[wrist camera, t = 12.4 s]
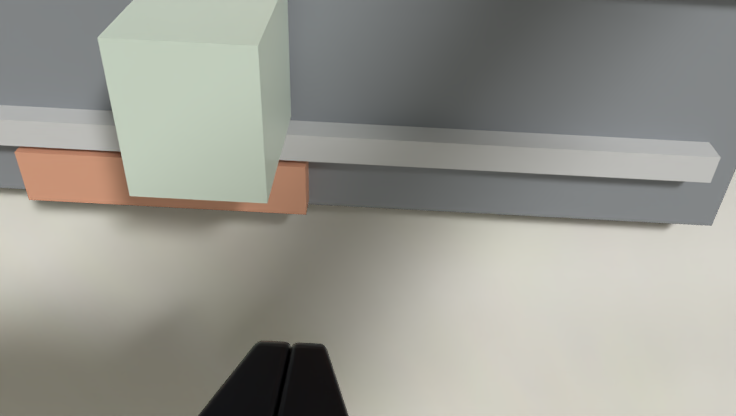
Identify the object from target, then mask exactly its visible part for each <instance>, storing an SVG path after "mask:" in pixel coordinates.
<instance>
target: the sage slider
mask: <svg viewBox="0 0 736 416" xmlns="http://www.w3.org/2000/svg"><path fill="white" fill-rule="evenodd" d="M97 38H98V43H99V48H100V53H101V58H102V63H103V68H104V73H105V78H106V83H107V87H108V92H109V97H110V102H111V107H112V112H113V117H114V122H115V127H116V131H117V136H118V141H119V146H120V151H121V156H122V161H123V166H124V171H125V176H126V180H127V185H128V190H129V195H130V196H137V197H155V198H174V199H193V200H211V201H230V202H249V203H268V199H269V195H270V192H271V188H272V184H273V181H274V177H275V173H276V170H277V166H278V162H279V159H280V155H281V151H282V148H283V144H284V140H285V137H286V133H287V129H288V126H289V122H290V118H291V96H290V63H289V31H288V0H133V1H132V2H131V3H130V4H129V5H128V6H127V7H126V8H125V9H124V10H123V11H122V12H121V13H120V14H119V15H118V16H117V18H116V19H115V20H114V21H113V22H112V23H111V24H110V25H109V26H108V27H107V28H106V29H105V30H104V31H103V32H102V33H101V34H100V35H99V36H98V37H97Z"/></svg>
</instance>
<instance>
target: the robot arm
mask: <svg viewBox="0 0 736 416" xmlns="http://www.w3.org/2000/svg"><path fill="white" fill-rule="evenodd" d="M198 416H348V413H347V409H346V406H345V403H344V400H343V397H342V394H341V391H340V388H339V385H338V382H337V379H336V376H335V373H334V370H333V366H332V363H331V360H330V357H329V354H328V351H327V349H326V347H325V346H324V345H323V344H315V343H295V344H293V346H292V347H291V345H290V344H289V343H287V342H278V341H260V342H258V343H256V344H255V345H254V346H253V347H252V349H251V350H250V351H249V352H248V354H247V355H246V356H245V357H244V359H243V360H242V361H241V363H240V364H239V365H238V366H237V368H236V369H235V370H234V371H233V373H232V374H231V375H230V376H229V378H228V379H227V380H226V381H225V383H224V384H223V385H222V386H221V388H220V389H219V390H218V391H217V393H216V394H215V395H214V396H213V398H212V399H211V400H210V401H209V403H208V404H207V405H206V406H205V408H204V409H203V410H202V412H201V413H200V414H199V415H198Z"/></svg>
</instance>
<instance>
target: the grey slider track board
mask: <svg viewBox="0 0 736 416" xmlns="http://www.w3.org/2000/svg"><path fill="white" fill-rule="evenodd" d="M132 1H133V0H0V188H17V189H26V191H27V194H28V198H29V200H43V201H62V202H80V203H99V204H118V205H137V206H155V207H174V208H193V209H211V210H230V211H249V212H267V213H286V214H305V215H306V212H307V207H308V204H317V205H335V206H354V207H373V208H392V209H410V210H429V211H448V212H466V213H485V214H504V215H523V216H541V217H560V218H579V219H597V220H616V221H635V222H654V223H672V224H691V225H710V226H712V223H713V221H714V219H715V216H716V214H717V212H718V209H719V207H720V205H721V202H722V200H723V198H724V195H725V193H726V190H727V188H728V186H729V183H730V181H731V179H732V176H733V174H734V172H735V169H736V0H288V31H289V63H290V96H291V118H290V122H289V126H288V129H287V133H286V137H285V140H284V144H283V148H282V151H281V155H280V159H279V162H278V166H277V170H276V173H275V177H274V181H273V184H272V188H271V192H270V195H269V199H268V203H249V202H230V201H211V200H193V199H174V198H155V197H137V196H130V195H129V190H128V185H127V180H126V176H125V171H124V166H123V161H122V156H121V151H120V146H119V141H118V136H117V131H116V127H115V122H114V117H113V112H112V107H111V102H110V97H109V92H108V87H107V83H106V78H105V73H104V68H103V63H102V58H101V53H100V48H99V43H98V38H97V37H98V36H99V35H100V34H101V33H102V32H103V31H104V30H105V29H106V28H107V27H108V26H109V25H110V24H111V23H112V22H113V21H114V20H115V19H116V18H117V16H118V15H119V14H120V13H121V12H122V11H123V10H124V9H125V8H126V7H127V6H128V5H129V4H130V3H131V2H132Z"/></svg>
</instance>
